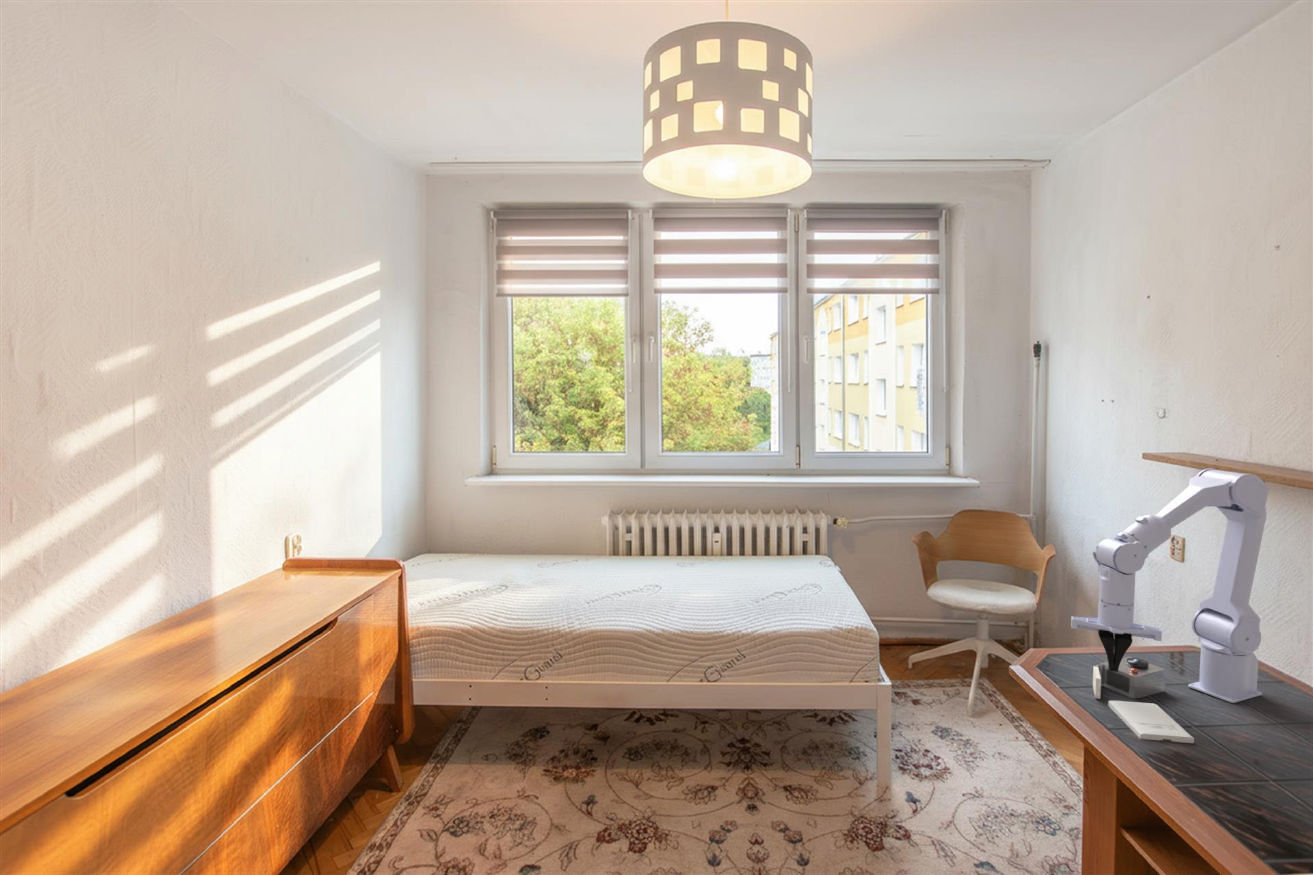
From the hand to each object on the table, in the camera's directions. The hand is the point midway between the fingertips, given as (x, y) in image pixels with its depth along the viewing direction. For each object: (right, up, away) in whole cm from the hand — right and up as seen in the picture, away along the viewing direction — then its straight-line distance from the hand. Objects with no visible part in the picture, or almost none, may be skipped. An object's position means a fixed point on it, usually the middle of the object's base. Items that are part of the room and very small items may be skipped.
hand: (1113, 669), depth 133 cm
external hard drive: (-1, -7, -10) cm, 12 cm away
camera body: (+6, -5, +4) cm, 9 cm away
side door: (-2, -5, +2) cm, 6 cm away
